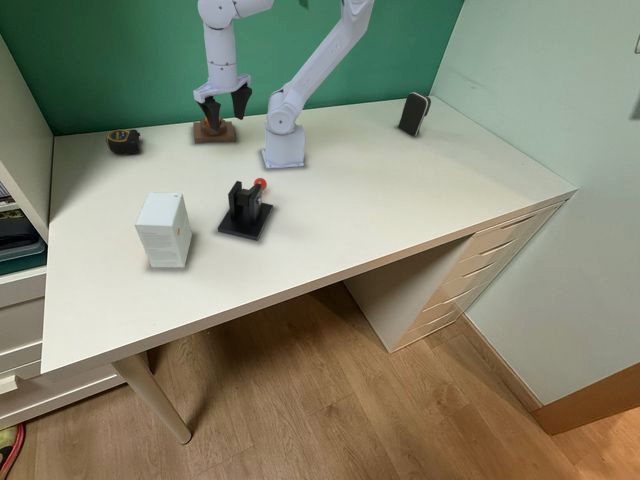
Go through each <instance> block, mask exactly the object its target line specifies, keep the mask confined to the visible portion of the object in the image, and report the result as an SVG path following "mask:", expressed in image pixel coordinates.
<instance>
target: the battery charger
mask: <svg viewBox="0 0 640 480" xmlns="http://www.w3.org/2000/svg"><path fill="white" fill-rule="evenodd" d="M405 99H406V100H405V102H404V105H403V109H402V114H401V117H400V120H399V123H398V126H397V128H399V129H400V130H402V131H403V132H404V133H406V134H409V135H410V136H412V137H416V136H418V135H419V133H420V128H421V126H422V124H423V121H424V119H425V117H427V116H428V113H429V110H430V109H431V108H430V107H431V105H432V100H431V97H429V96H427V95H425V94H423V93H422V92H419V91H413V92H410V93H409V94H407V97H406V98H405Z"/></svg>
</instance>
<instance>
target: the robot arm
mask: <svg viewBox="0 0 640 480" xmlns="http://www.w3.org/2000/svg"><path fill="white" fill-rule="evenodd" d="M375 1H376V0H340V19H339V20H338V22H337V23H335V25H334V26H333V28H332V29H331V30H330V31H329V33H327V35H326V36H325V38H323V40H322V41H321V43H319V45H318V46H317V47H316V49H315V50H314V52H313V53H312V54H311V55H310V57H309V58H308V59H307V60H306V61H305V62H304V64H303V65H302V66H301V68H300V69H299V70H298V71H297V72H296V73H295V75H294V76H293V78H292V79H291V80H290V81H288V82H286V83H284V84H283V86H282V87H281V88H279V89H278V90H275V91H273V92H272V93H271V94H270V95H269V97H268V99H267V114H266V117H265V123H264V148H265V149H264V148H263V149H261V155H262V158H263V161H264V165H265V168H266V169H268V170H269V169H283V168H285V169H286V168H299V167H300V168H301V167H304V166H305V163H304V159H305V150H306V131H305V128H304V126H303V125H301V124H297V123H296V121H297V119H298V117H299V116H300V115H301V114H302V111H303V109H304V107H305V104H306V102H307V101H308V99H310V97H311V96H312V95H313V94H314V93H315V92H316V90H317V89H318V88H319V87H320V86H321V85H322V83H323V82H324V81H325V80H326V79H327V78H328V77H329V76H330V74H331V73H332V72H333V71H334V69H336V67H337V66H338V65H339V64H340V63H341V62H342V61H343V59H344V58H345V57H346V56H347V55H348V54H349V52H350V51H351V50H352V49H353V48H354V47H355V46H356V44H357V43H358V42H359V40H361V38H363V36H365V34H366V33H367V30H368V29H369V28H368V27H369V23H370V20H371V17H372V16H371V15H372V11H373V9H374V8H373V7H374V4H375ZM274 2H275V0H197V11H198V15H199V16H200V18H201V20H202V25H203V26H202V27H203V38H204V48H205V56H206V63H207V64H206V65H207V72H208V77H207V81H206V82H205V83H204V84H202V85H201V86H200V87H198V88H196V89H194V90H192V91H193V98H194V101H195V102H196V103H197V105H198V106H199V107H200V109H201V110H202V112H203V114H204V116H205V117H206V118H207V120H208V123H209V125H210V128H211V129H213V130H215V131H219V117H220V110H221V107H222V104H221V103H220V102H218V101H216V99H215V98H214V97H217V96H220V95H222V94H229V93H230V97H231V101H232V108H233V115H234V117H235V118H236V119H238V120H240V121H243V120H244V117H245V112H246V109H247V104H248V102H249V100H250V98H251V96H252V95H253V89H252V88H251V87H249V86H251V85H252V76H251V75H250V74H248V73H245V72H243V73H241V74H238V65H237V49H236V35H235V31H234V29H235V28H234V19H236V20H242V19H244V18H247V17H249V16H253V15H256V14H259V13H262V12H265V11H268V10H271V9H272V7H273V5H274Z"/></svg>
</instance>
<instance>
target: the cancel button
mask: <svg viewBox="0 0 640 480" xmlns="http://www.w3.org/2000/svg"><path fill="white" fill-rule="evenodd" d="M204 118H205V121H206V125H207V126H210V125H209V123H208V120H207V118H206V116H205V117H204ZM220 118H221V117H220V116H219V126H220Z"/></svg>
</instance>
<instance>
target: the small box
mask: <svg viewBox="0 0 640 480" xmlns="http://www.w3.org/2000/svg"><path fill="white" fill-rule="evenodd" d="M134 229H135V230H136V232H137V234H138V235H137V236H138V238H139V241H140V242H141V245H142V246H143V249H144V252H145V254H146V256H147V259H148V261H149V263H150V266H151V268H185V267H186V263H187V258H188V253H189V250H190V245H191V241H192V237H193V233H192V228H191V224H190V219H189V215H188V211H187V207H186V202H185V198H184V194H183V193H179V192H158V191H157V192H155V191H153V192H152V191H147V194H146V196H145V199H144V200H143V203H142V206H141V208H140V211H139V213H138V216H137V218H136V221H135V223H134Z"/></svg>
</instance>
